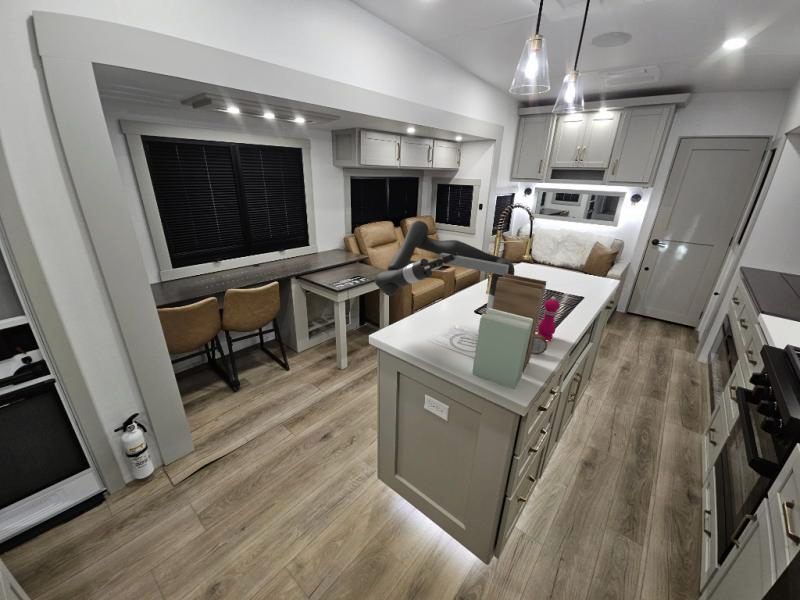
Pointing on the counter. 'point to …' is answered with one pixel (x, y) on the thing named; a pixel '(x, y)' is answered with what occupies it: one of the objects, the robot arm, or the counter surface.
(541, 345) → the tin
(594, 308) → the counter surface
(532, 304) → the walnut post
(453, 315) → the counter surface
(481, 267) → the bar
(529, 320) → the sage green box
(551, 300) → the pepper mill
